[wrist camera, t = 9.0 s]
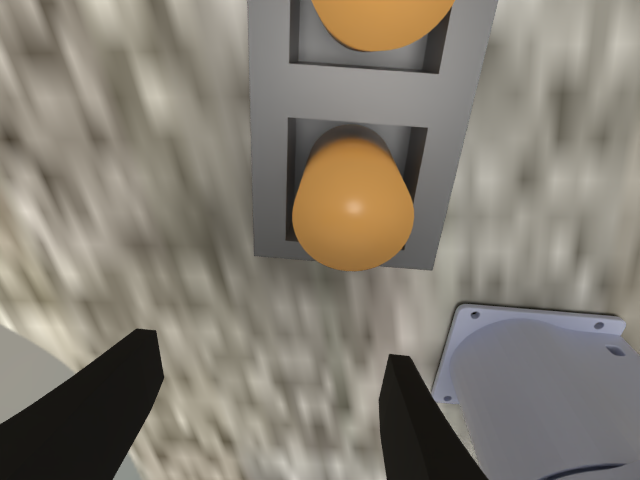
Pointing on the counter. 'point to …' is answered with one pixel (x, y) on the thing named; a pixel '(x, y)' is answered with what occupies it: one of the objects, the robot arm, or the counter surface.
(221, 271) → the counter surface
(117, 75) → the counter surface
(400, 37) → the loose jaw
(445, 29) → the housing
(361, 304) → the counter surface
